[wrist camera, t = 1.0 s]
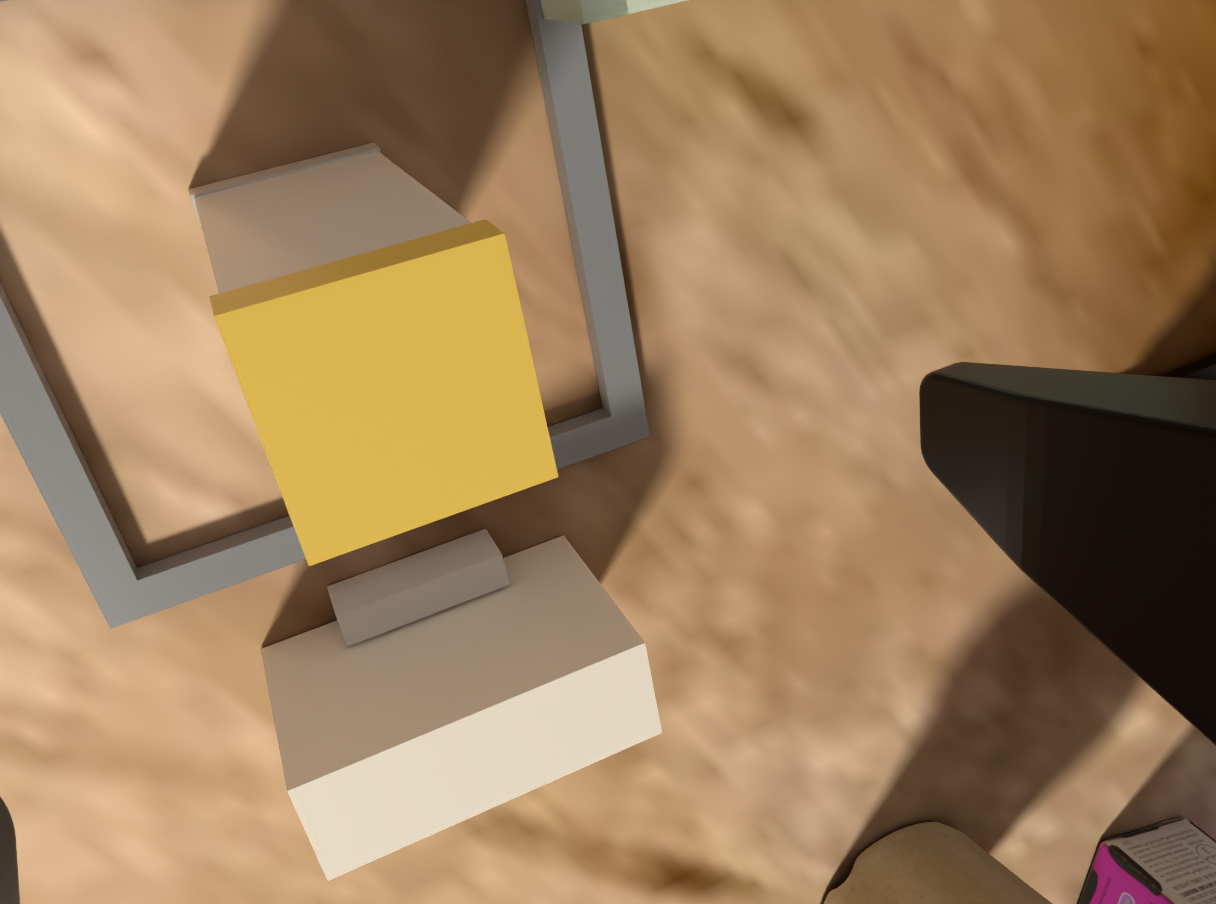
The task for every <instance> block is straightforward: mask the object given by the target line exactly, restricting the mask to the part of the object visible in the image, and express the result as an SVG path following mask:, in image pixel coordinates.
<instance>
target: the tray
mask: <svg viewBox="0 0 1216 904" xmlns="http://www.w3.org/2000/svg"><path fill="white" fill-rule="evenodd" d="M682 1H686V0H540V4H541V9H542V15H543V19H549V20H556V21H563V22H571V23H578V24H588V23H592V22H596V21H600V20H605V19H609V18H613V17H618V16H622V15H626V14H631V13H635V12H639V11H643V10H648V9H652V8H656V7H661V6H665V5H669V4H674V3H678V2H682Z"/></svg>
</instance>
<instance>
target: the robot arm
mask: <svg viewBox="0 0 1216 904" xmlns="http://www.w3.org/2000/svg"><path fill="white" fill-rule="evenodd" d="M919 395H920V437H921V450H922V454H923V457H924V460H925V462H926V464H927V466H928V467H929V469H930V470H931V472H932V473H933V474H934V475H935V476H936V477H937V478H938V479H939V481H940V482H941V483H942V484H943V485H944V486H945V487H946V488H947V489H948V490H949V492H950V493H951V494H952V495H953V496H954V497H955V498H956V499H957V500H958V502H959V503H960V504H961V505H962V506H963V507H964V508H965V509H966V510H967V512H968V513H969V514H970V515H971V516H972V517H973V518H974V519H975V520H976V521H977V523H978V524H979V525H980V526H981V527H982V528H983V529H984V530H985V531H986V533H987V534H988V535H989V536H990V537H991V538H992V539H993V540H994V541H995V543H996V544H997V545H998V546H999V547H1000V548H1001V549H1002V550H1003V551H1004V552H1005V554H1006V555H1007V556H1008V557H1009V558H1010V559H1011V560H1012V561H1013V562H1014V563H1015V564H1016V565H1017V566H1018V567H1019V568H1020V569H1021V570H1022V571H1023V572H1024V573H1025V574H1026V575H1027V576H1028V577H1029V578H1030V579H1031V580H1032V581H1033V582H1034V583H1035V584H1037V585H1038V586H1039V587H1040V588H1041V589H1042V590H1043V591H1044V592H1045V593H1046V594H1048V595H1049V596H1050V597H1051V598H1052V599H1053V600H1054V601H1055V602H1056V603H1058V604H1059V605H1060V606H1061V607H1062V608H1063V609H1064V610H1065V611H1067V612H1068V613H1069V614H1070V615H1071V616H1072V617H1073V618H1074V619H1075V620H1077V621H1078V622H1079V623H1080V624H1081V625H1082V626H1083V627H1084V628H1085V629H1087V630H1088V631H1089V632H1090V633H1091V634H1092V635H1093V636H1094V637H1095V638H1097V639H1098V640H1099V641H1100V642H1101V643H1102V644H1103V645H1104V646H1105V647H1107V648H1108V649H1109V650H1110V651H1111V652H1112V653H1113V654H1114V655H1115V656H1117V657H1118V658H1119V659H1120V660H1121V661H1122V662H1123V663H1124V664H1125V665H1127V666H1128V667H1129V668H1130V669H1131V670H1132V671H1133V672H1134V673H1136V674H1137V675H1138V676H1139V677H1140V678H1141V679H1142V680H1143V681H1144V682H1146V683H1147V684H1148V685H1149V686H1150V687H1151V688H1152V689H1153V690H1154V691H1156V692H1157V693H1158V694H1159V695H1160V696H1161V697H1162V698H1163V699H1164V700H1166V701H1167V702H1168V703H1169V704H1170V705H1171V706H1172V707H1173V708H1174V709H1176V710H1177V711H1178V712H1179V713H1180V714H1181V715H1182V716H1183V717H1184V718H1186V719H1187V720H1188V721H1189V722H1190V723H1191V724H1192V725H1193V726H1195V727H1196V728H1197V729H1198V730H1199V731H1200V732H1201V733H1202V734H1203V735H1205V736H1206V737H1207V738H1208V739H1209V740H1210V741H1211V742H1212V743H1213V744H1215V745H1216V355H1213V356H1211V357H1208V358H1206V359H1203V360H1201V361H1198V362H1196V363H1193V364H1191V365H1188V366H1186V367H1183V368H1181V369H1178V370H1176V371H1173V372H1171V373H1168V374H1166V375H1163V376H1148V375H1135V374H1121V373H1107V372H1094V371H1080V370H1066V369H1052V368H1039V367H1025V366H1011V365H997V364H984V363H970V362H959V363H955V364H952V365H949V366H946V367H944V368H941V369H938V370H936V371H933V372H931V373H929V374H927V375H926V376H925V377H924V378H923V380H922V382H921V385H920V392H919ZM0 904H20V895H19V880H18V865H17V850H16V836H15V829H14V825H13V821H12V818H11V815H10V813H9V811H8V808H7V806H6V805H5V803H4V801H3V800H2V798H1V797H0Z"/></svg>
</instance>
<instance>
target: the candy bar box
mask: <svg viewBox="0 0 1216 904" xmlns="http://www.w3.org/2000/svg"><path fill="white" fill-rule="evenodd" d="M1078 904H1216V841H1215V840H1214V839H1213V838H1211V837H1210V836H1209V835H1208V834H1206V833H1205V832H1204V831H1202V830H1201V829H1200V828H1199V827H1197V826H1196V825H1195V824H1193V823H1192V822H1191V821H1189V820H1188V819H1186V818H1184V817H1183V818H1176V819H1171V820H1166V821H1163V822H1159V823H1157V824H1154V825H1152V826H1149V827H1146V828H1143V829H1140V830H1137V831H1134V832H1131V833H1128V834H1124V835H1120V836H1117V837H1114V838H1111V839H1108V840H1105V841H1103V842H1102V843H1101V844H1100V846H1099V847H1098V849H1097V852H1096V855H1095V858H1094V861H1093V863H1092V866H1091V869H1090V872H1089V874H1088V877H1087V880H1086V883H1085V886H1084V888H1083V891H1082V894H1081V897H1080V900H1079V903H1078Z"/></svg>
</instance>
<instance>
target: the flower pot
mask: <svg viewBox="0 0 1216 904" xmlns="http://www.w3.org/2000/svg"><path fill="white" fill-rule="evenodd" d="M824 904H1052V903H1051V902H1049V901H1048V900H1047V899H1046V898H1044V897H1043V896H1042V895H1040V894H1039V893H1038V892H1037V891H1035V890H1034V889H1033V888H1031V887H1030V886H1029V885H1028V884H1026V883H1025V882H1024V881H1022V880H1021V879H1020V878H1019V877H1017V876H1016V875H1015V874H1014V873H1012V872H1011V871H1010V870H1009V869H1007V868H1006V867H1005V866H1004V865H1002V864H1001V863H1000V862H999V861H997V860H996V859H995V858H994V857H992V856H991V855H990V854H989V853H987V852H986V851H985V850H983V849H982V848H981V847H980V846H978V845H977V844H976V843H975V842H974V841H973V840H971V839H970V838H969V837H968V836H967V835H966V834H964V833H963V832H961V831H959V830H957V829H954V828H952V827H950V826H947V825H944V824H942V823H939V822H924V823H919V824H915V825H911V826H908V827H905V828H902V829H900V830H897V831H895V832H893V833H891V834H889V835H887V836H885V837H884V838H882V839H880V840H878V841H877V842H875V843H874V844H872V845H871V846H870V847H868V848H867V849H866V850H864V851H863V852H862V853H861V854H860V855H859V856H858V857H857V859H856V861H855V864H854V866H853V869H852V871H851V873H850V875H849V876H848V878H847V879H846V881H845V882H844V883H843V884H842V885H840V886H839V887H838V888H836V889H833V890H831V891H830V892H829V894H828V895H827V897H826V900H825V902H824Z"/></svg>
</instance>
